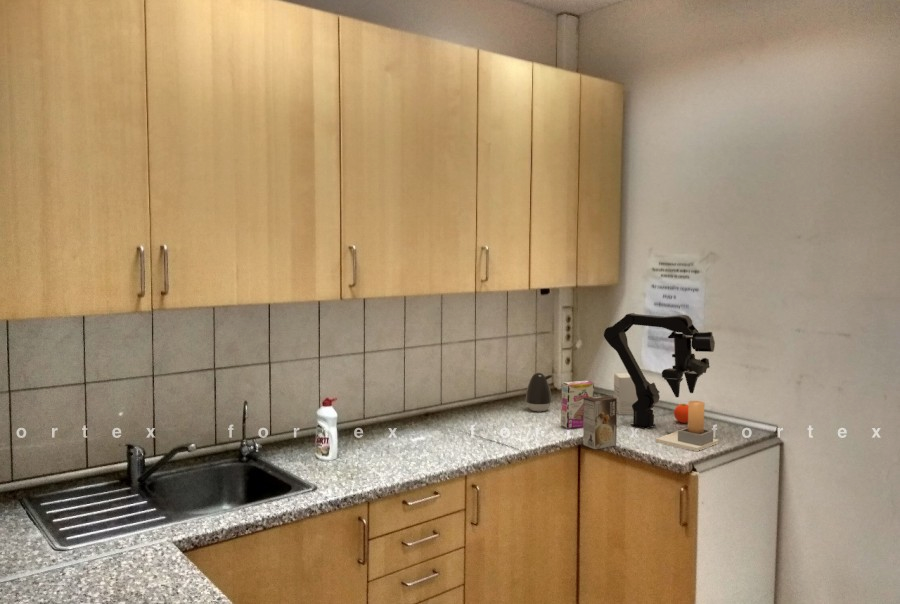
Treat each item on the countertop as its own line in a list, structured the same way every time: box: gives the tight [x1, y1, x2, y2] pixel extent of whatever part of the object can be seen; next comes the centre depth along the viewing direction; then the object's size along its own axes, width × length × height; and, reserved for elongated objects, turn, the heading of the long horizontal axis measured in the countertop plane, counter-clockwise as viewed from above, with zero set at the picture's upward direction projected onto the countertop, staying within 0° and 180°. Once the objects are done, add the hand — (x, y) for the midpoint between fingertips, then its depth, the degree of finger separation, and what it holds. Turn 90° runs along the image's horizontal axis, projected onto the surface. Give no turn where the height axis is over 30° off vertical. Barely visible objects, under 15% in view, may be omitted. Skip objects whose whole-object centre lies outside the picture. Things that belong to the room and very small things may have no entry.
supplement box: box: [613, 372, 638, 416], centre depth 282 cm, size 9×9×15 cm
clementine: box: [673, 403, 688, 424], centre depth 267 cm, size 8×7×7 cm
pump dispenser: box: [525, 372, 553, 413], centre depth 286 cm, size 10×10×15 cm
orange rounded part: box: [687, 400, 705, 434], centre depth 237 cm, size 5×5×13 cm
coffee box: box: [582, 394, 618, 450], centre depth 236 cm, size 9×6×16 cm
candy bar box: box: [560, 380, 595, 430], centre depth 261 cm, size 11×5×16 cm, turn 113°
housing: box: [655, 426, 720, 452], centre depth 240 cm, size 15×14×5 cm
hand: (684, 395), depth 252 cm, fingers open, 9 cm apart
